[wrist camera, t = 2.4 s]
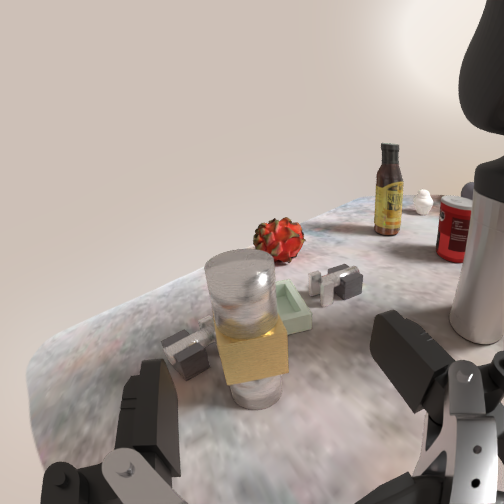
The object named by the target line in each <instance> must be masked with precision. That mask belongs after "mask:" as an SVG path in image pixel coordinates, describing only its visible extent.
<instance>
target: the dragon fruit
mask: <svg viewBox="0 0 504 504" xmlns="http://www.w3.org/2000/svg"><path fill="white" fill-rule="evenodd" d="M255 233H256V234H255V235H254V240H253V241H254V242H253V244H254V246H255V248H256V250H261V251H265V252H267V253H269V254H270V255H271V256H272V257H273V259H274V263H275V262H276V261H277V260H281V261H283V262H288V263H290V262H291V261H292V260H291V257H296V256H297V254H298V252H299V250H300V249H301V247H302V245H303V243H304V241H306V240H305V239H304V234H303V232H302V228H301V226H300V225H299V223H292V221H291V220H290V219H289V218H287V217H285V218H283V219H282V220H281V221H278V220H276V219H275V218H274V219H273V220H271V221H269V223H268V224H267V223H261V224H260V225H259V226H258V229H256V230H255Z"/></svg>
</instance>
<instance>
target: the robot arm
mask: <svg viewBox="0 0 504 504" xmlns="http://www.w3.org/2000/svg"><path fill="white" fill-rule="evenodd" d="M459 100H460V104H461V108H462V110H463V112H464V115H465V116H466V118H467V119H468V120H469V121H470V122H471V123H472V124H473V125H474V126H476V127H477V128H479V129H482V130H484V131H487V132H491V133H496V134H500V135H504V0H487V1H486V5H485V9H484V11H483V14H482V17H481V19H480V22H479V25H478V27H477V29H476V31H475V34H474V36H473V38H472V40H471V42H470V44H469V47H468V49H467V51H466V54H465V56H464V59H463V62H462V66H461V70H460V75H459ZM449 318H450V323H451V325H452V327H453V328H454V330H455V331H456V332H457V333H458V334H460V335H461V336H462V337H464V338H465V339H467V340H469V341H472V342H474V343H479V344H491V343H495V342H497V341H498V340H500V339H501V338H502V336H503V334H504V156H502V157H501V158H499V159H496V160H493V161H490V162H486V163H482V164H480V165H478V166H477V168H476V170H475V176H474V189H473V201H472V210H471V219H470V226H469V233H468V239H467V244H466V250H465V255H464V260H463V265H462V269H461V274H460V278H459V282H458V286H457V290H456V294H455V298H454V301H453V305H452V308H451V312H450V315H449ZM370 351H371V355H372V357H373V359H374V360H375V361H376V363H377V364H378V365H379V367H380V368H381V369H382V371H383V372H384V373H385V375H386V376H387V377H388V379H389V380H390V381H391V383H392V384H393V385H394V387H395V388H396V389H397V391H398V392H399V393H400V395H401V396H402V397H403V399H404V400H405V402H406V403H407V404H408V406H409V407H410V408H411V410H412V411H413V413H414V414H415V413H417V412H418V411H420V410H422V409H425V410H426V411H427V412H426V414H425V419H424V429H423V438H422V446H421V453H420V457H419V460H418V462H417V465H416V467H415V469H414V472H413V476H412V477H411V475H410V474H409V472H406V473H404V474H402V475H401V476H399V477H397V478H395V479H393V480H391V481H389V482H386V483H384V484H382V485H380V486H379V487H377V488H376V489H375V490H373V491H372V492H370V493H369V494H368V495H366V496H365V497H363V498H362V499H361V500H359V501H358V502H356V503H355V504H504V492H502V491H497V468H498V456H499V458H500V459H501V461H502V462H503V464H504V406H503V405H502V403H501V400H502V399H503V397H504V351H500V352H498V353H496V354H495V356H494V358H493V360H492V362H491V363H490V364H486V365H482V366H476V365H475V364H473V363H472V362H470V361H466V360H458V361H455V360H454V359H453V358H452V357H451V356H450V355H449V354H448V353H447V352H446V351H445V350H444V349H443V348H442V347H441V346H440V345H439V344H438V343H437V342H436V341H435V340H434V339H432V337H431V336H430V335H429V334H428V333H426V332H425V330H424V329H423V328H422V327H420V326H419V325H418V324H417V323H415V322H413V321H411V320H409V319H407V318H406V319H404V318H403V317H402V316H401V315H400V314H399V313H398V312H397V311H395V310H391V311H387V312H384V313H381V314H378V315H376V317H375V319H374V325H373V331H372V336H371V341H370ZM120 408H121V411H120V414H119V421H118V428H117V435H116V443H115V448H114V450H113V451H111V452H110V453H109V454H108V455H107V456H106V457H105V458H104V460H103V462H102V463H100V464H97V465H93V466H89V467H85V468H80V469H76V468H75V467H73V466H72V465H71V464H69V463H66V462H56V463H54V464H52V465H50V466H49V467H48V468H47V470H46V471H45V474H44V478H43V485H42V493H41V504H188V503H187V502H186V501H185V500H183V499H182V498H181V497H180V496H179V495H178V494H177V493H176V492H175V491H174V490H173V489H172V477H181V470H180V454H179V431H178V399H177V393H176V389H175V386H174V383H173V381H172V378H171V376H170V373H169V371H168V368H167V366H166V363H165V361H164V359H153V360H144V361H142V364H141V370H140V375H137V376H131V377H130V379H129V380H128V382H127V383H126V385H125V386H124V390H123V395H122V401H121V407H120Z"/></svg>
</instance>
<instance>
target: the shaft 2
mask: <svg viewBox="0 0 504 504" xmlns="http://www.w3.org/2000/svg"><path fill="white" fill-rule="evenodd" d="M308 277H309V295H310V296H314V295H317V294H320V305H321V306H322V307H325V306H328V305H331V304H333V291H334V292H335V293H336V294H337V295H339V296H340V297H341V298H342V299H344V300H346V299H349V298H351V297H354V296H356V295H359V294H361V293H362V282H363V275H362V274H360V272H359V269H358V268H357V267H356V266H352V267H349V266H348V265H346V264H343V265H340V266H337V267H333V268H330V269H328V275H325V276H322V277H321V273H320V272H319V271H316V272H312V273H309V274H308Z"/></svg>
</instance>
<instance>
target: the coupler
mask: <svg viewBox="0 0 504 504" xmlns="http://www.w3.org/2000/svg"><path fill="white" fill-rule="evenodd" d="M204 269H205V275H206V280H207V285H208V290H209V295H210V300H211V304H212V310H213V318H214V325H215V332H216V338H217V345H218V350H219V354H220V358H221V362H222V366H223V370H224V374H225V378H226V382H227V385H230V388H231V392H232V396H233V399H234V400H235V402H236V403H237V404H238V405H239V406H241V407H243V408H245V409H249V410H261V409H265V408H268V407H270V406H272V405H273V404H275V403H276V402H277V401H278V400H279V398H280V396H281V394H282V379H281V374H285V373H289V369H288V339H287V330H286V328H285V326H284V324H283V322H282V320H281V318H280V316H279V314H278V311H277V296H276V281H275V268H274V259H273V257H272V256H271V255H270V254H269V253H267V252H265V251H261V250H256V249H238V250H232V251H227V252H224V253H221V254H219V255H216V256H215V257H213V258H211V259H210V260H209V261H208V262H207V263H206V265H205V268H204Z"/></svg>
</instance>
